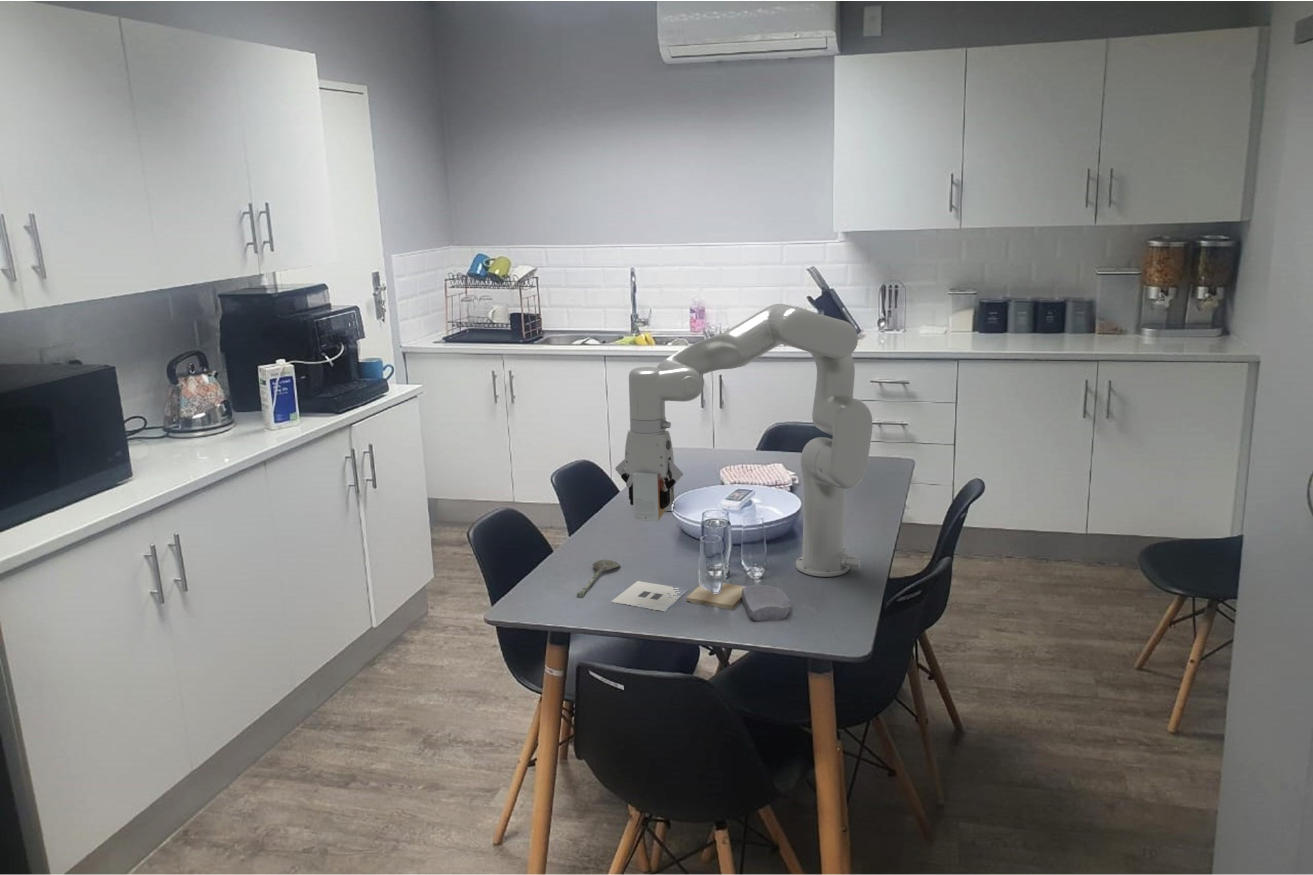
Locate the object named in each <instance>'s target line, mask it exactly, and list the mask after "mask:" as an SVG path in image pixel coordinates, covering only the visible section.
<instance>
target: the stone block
mask: <svg viewBox="0 0 1313 875" xmlns="http://www.w3.org/2000/svg"><path fill="white" fill-rule="evenodd" d="M741 602H742V604H743V606H744V609H745V612H746V614H747V617H748V619H749V620H751V621H752V622H755V623H756V622H766V621H782V620H784V619H785V618H786V617H787V616H788V615H789V613H790V611H791V608H792V607H791V600H790V598H789V597H788V596H787V594H786V593H785V592H784V591H783V589H781V588H779V587H778V586H775V585H774V586H773V585H766V584H752V585H747V586H745V588H743V589H742V601H741Z"/></svg>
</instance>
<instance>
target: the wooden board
mask: <svg viewBox="0 0 1313 875" xmlns="http://www.w3.org/2000/svg"><path fill="white" fill-rule="evenodd" d="M722 583H723V585H722V588H721V592H720V593H719V594H713V592H710V590H705V589H704V588H702V587H701V586H700V585H698V586H697V587H696V588H695V589H694V590H693V591H692V592H691V593H690V594H688V595H687V596H686V597H685V602H686V601H690V602H689V603H691V602H694V603H693V604H697V603H700V604H699V605H702V604H708V605H711V606H710V607H714V606H715V608H719V609H724V610H725V609H726V610H731V611H733V610H734V609H735V608H737V607H738V605H740V603H741V602H742V589H743V588H745V587H746V586H744V585H738V584H732V583H726V582H722ZM708 605H707V606H708Z"/></svg>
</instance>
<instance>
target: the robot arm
mask: <svg viewBox="0 0 1313 875" xmlns="http://www.w3.org/2000/svg"><path fill="white" fill-rule="evenodd" d="M858 341H859V336H858V332H857V330H856V328H855V327H854V326H853V325H852V324H851V323H850V322H848V321H846V320H843V319H840V318H834V317H831V316H828V315H825V314H821V313H817V312H814V311H811V310H808V309H805V308H803V307H798V306H794V305H791V304H790V305H788V304H784V303H774V304H771V305H769V306H767V307H764V308H763V309H761V310H760V311H759V312H756V313H755V314H753V315H751V316H749V317H748V318H746V319H745V320H742V321H741V322H740V323H737V324H736V325H734V326H733V327H732V328H729V329H728V330H726V331H724V332H722V333H719V334H716V335H713V336H710V337H709V338H706V339H703V340H700V341H698V342H694V343H692V344H690V345H688V346H686V347H684V348H681V349H680V350H679V351H677V352H675V353H673V354H671V355H670V356H669V357H667V358H665V359H663V360H662V361H661V362H660V363H659V364H658V365H657V366H640V367H635V368H633V369H632V370H630V372H629V374H628V394H629V395H628V397H629V401H628V402H629V430H628V431H627V434H626V440H625V446H624V449H625V450H624V459H623V460H622V461H621V462H620V463H619V464H618V465H616V466H615V471H616V472H617V474H618V475H619V476H620V477H621V479H622V481H624V482H625V485H626V487H627V488H628V500H629V504H630V506H633V474H634V473H635V472H644V473H654V474H658V475H659V479H660V486H661V488H662V491H660V508H661V509H664V508H666V507H667V506H668V505H669V504H670V488H672V486H673V485H674V486H675V485H676V484H677V483H678V481H680V479H681V478H683V476H684V473H683V472H682V471H681V469H679V468H678V466H677V465H676V464H675V459H674V458H675V457H674V449H673V448H674V447H673V443H672V437H671V435H670V431H669V430H667V429H670V428H671V427H672V423H671V422H670V421H667V417H666V404H665V403H666V402H668V401H669V402H690V401H694V400H695V399H697V398H698V397H699V396H700V395H701V394H702V392H703V390H704V383H705V382H704V379H703V376H702V375H704V374H708V373H711V372H715V371H720V370H732V369H737V368H741V367H744V366H745V367H746V365H748V364H750V363H751V362H753V361H755V360H757V359H758V358H760V357H761V356H763V355H765V354H766V353H768V352H769V351H771V350H774V349H775V348H776V347H778V346H780V345H785V346H788V347H791V348H795V349H798V350H801V351H805V352H808V353H810V354H811V356H812V358H813V360H814V363H815V365H816V383H815V389H814V390H815V391H814V398H813V405H812V417H811V419H812V423H813V425H814V426H815V428H817V429H818V430H820V431H821V432H823V433H826V434H828V435H830V436H831V437H832V438H830V437H822V436H821V437H819V436H818V437H815V438H813V439H810V440H809V441H808V442H807V443H806V444H805V445H804V447H803V449H802V452H801V456H800V467H801V474H802V480H803V517H802V518H803V520H802V556H800V557H799V558H797V560H796V561H795V568H796V569H797V570H798V571H800V572H801V573H803V574H806V575H809V576H813V577H821V578H822V577H823V578H828V577H829V578H831V577H838V576H842V575H844V574H846V573H847V572H848V571H849V570H850V567H853V568H858V569H860V568H861V564H862V560H861V559H859V556H857V555H856V556H855V555H850V554H848V549H847V548H844V541H845V540H844V537H845V508H846V495H845V494H846V493H845V490H850V489H853V488H855V487H856V486H858V485H860V484H861V481H862V480H863V478H864V477H865V474H866V471H867V467H868V463H869V462H868V461H869V457H870V456H869V455H870V448H871V441H872V434H873V428H874V426H873V417H872V413H871V410H870V408H869V407H868V406H867V404H865V403H864V402H863V401H861V400H859V399H857V398H854V390H855V389H854V387H855V374H856V372H855V371H856V370H855V369H856V368H855V362H854V358H853V355H852V354H853V352H855V350H856V349H857V346H858ZM672 473H673V475H674V476H673V478H672V479H671V480H670V479H669V477H668V475H670V474H672Z"/></svg>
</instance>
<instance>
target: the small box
mask: <svg viewBox="0 0 1313 875" xmlns="http://www.w3.org/2000/svg"><path fill="white" fill-rule="evenodd" d="M660 491H662V488H661V486H660V479H659V475H658V474H654V473H644V472H635V473H634V474H633V505H632V507H633V508H632V509H633V522H655V523H656V522H660V519H661V517H662V516H663V515H664V513H665V508H664V509H661V508H660Z"/></svg>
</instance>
